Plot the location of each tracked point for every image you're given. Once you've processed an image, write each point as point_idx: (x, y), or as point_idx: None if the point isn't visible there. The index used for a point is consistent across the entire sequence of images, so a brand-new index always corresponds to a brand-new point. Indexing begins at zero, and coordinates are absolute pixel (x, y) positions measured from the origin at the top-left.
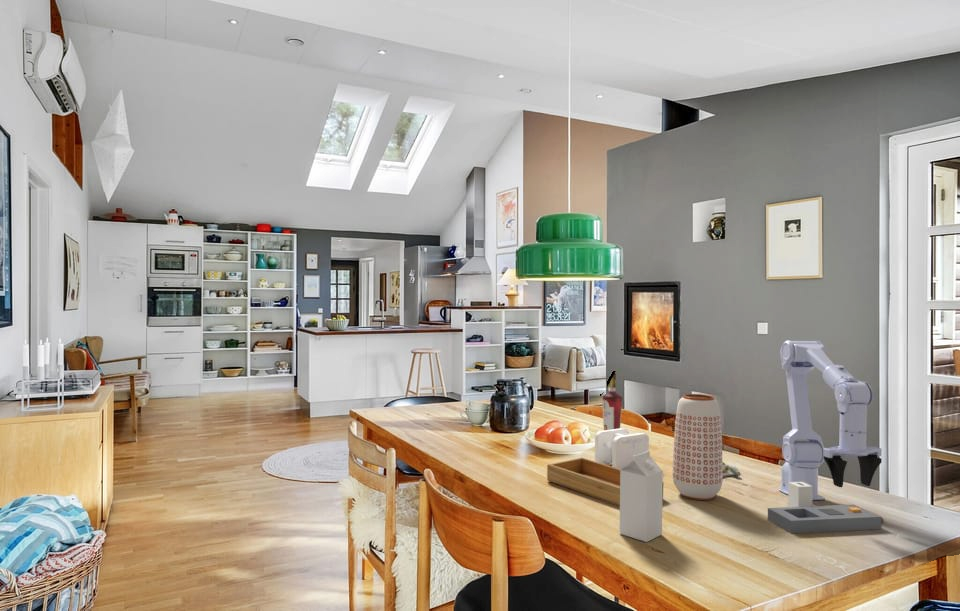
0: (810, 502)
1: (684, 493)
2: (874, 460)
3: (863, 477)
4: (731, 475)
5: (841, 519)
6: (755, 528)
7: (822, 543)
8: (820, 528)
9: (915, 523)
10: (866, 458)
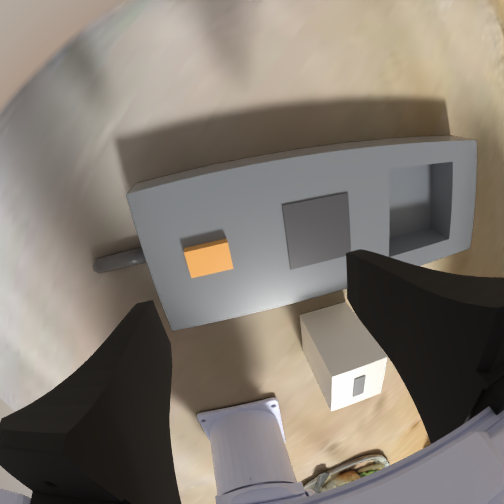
0: (317, 334)
1: None
2: (67, 440)
3: (160, 364)
4: (327, 471)
5: (322, 151)
6: (491, 175)
7: (413, 57)
8: (385, 140)
9: (10, 261)
10: (137, 494)
